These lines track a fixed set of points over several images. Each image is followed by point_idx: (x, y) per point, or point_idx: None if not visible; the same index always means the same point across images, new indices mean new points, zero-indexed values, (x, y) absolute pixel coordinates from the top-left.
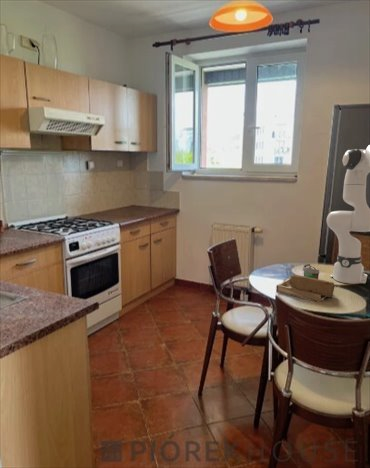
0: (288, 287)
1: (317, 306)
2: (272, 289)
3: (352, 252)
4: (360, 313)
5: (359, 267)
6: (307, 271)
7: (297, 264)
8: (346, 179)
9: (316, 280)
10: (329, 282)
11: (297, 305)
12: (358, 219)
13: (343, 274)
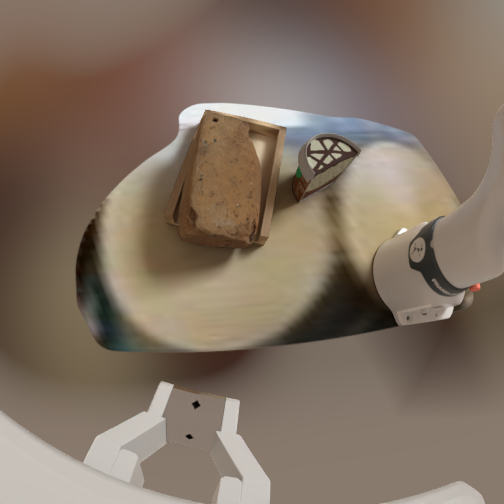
0: None
1: (134, 223)
2: None
3: (452, 257)
4: (129, 338)
5: (426, 298)
6: (301, 148)
7: (427, 155)
8: None
9: (192, 177)
10: (198, 219)
11: (125, 178)
12: None
13: (391, 259)
